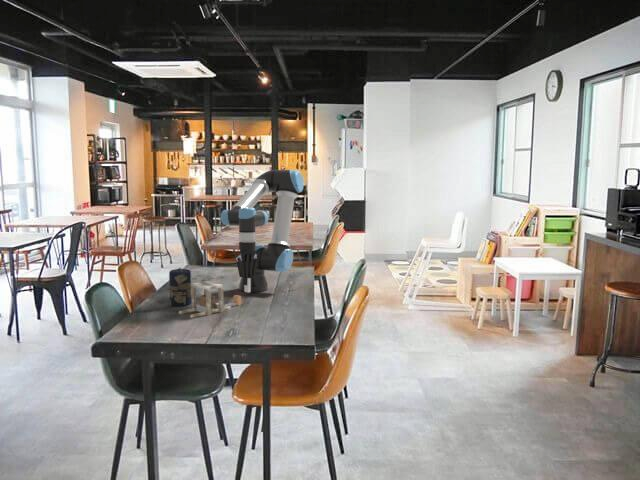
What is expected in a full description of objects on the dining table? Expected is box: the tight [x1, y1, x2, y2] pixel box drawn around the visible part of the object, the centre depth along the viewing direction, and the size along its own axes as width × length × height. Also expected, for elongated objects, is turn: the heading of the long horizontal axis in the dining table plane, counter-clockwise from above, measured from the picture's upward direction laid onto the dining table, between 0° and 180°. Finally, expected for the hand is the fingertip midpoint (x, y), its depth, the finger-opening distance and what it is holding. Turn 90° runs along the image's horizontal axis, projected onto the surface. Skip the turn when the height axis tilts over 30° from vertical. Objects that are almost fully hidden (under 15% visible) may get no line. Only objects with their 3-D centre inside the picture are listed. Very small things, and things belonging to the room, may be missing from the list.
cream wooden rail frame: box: [178, 280, 232, 319], centre depth 249 cm, size 26×12×13 cm, turn 136°
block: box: [199, 294, 216, 309], centre depth 248 cm, size 4×5×6 cm
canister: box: [168, 267, 192, 308], centre depth 259 cm, size 10×10×18 cm
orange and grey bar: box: [195, 294, 242, 313], centre depth 253 cm, size 21×7×4 cm, turn 136°
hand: (247, 291), depth 264 cm, fingers closed
